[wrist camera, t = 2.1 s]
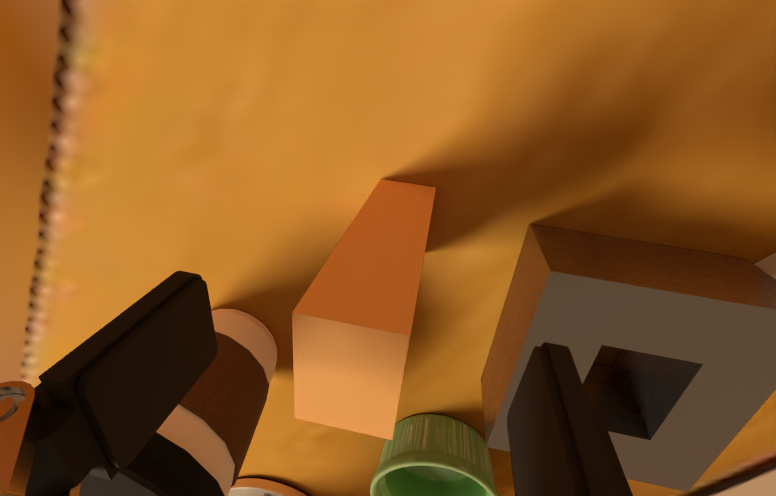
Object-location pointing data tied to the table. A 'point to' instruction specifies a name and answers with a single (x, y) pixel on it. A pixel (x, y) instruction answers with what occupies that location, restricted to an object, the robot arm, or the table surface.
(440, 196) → the table surface
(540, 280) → the grey square frame
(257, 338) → the coffee cup
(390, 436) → the orange square peg
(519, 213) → the table surface
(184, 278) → the robot arm
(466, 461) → the ramekin
